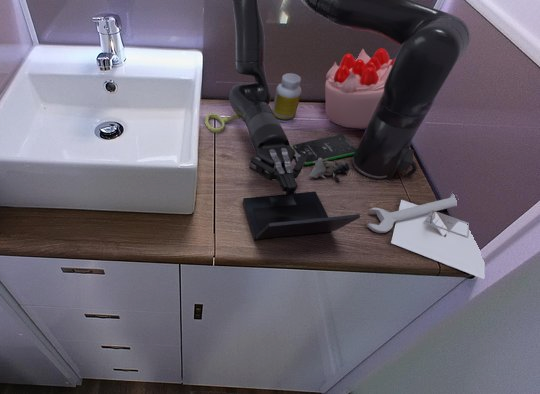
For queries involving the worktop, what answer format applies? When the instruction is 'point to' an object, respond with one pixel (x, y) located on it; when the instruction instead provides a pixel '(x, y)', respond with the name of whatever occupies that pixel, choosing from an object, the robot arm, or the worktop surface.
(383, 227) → the wrench
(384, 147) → the robot arm
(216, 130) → the key
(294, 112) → the pill bottle
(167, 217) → the worktop surface
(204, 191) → the worktop surface
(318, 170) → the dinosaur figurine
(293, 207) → the laptop
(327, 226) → the laptop screen
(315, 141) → the smartphone
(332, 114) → the cake
